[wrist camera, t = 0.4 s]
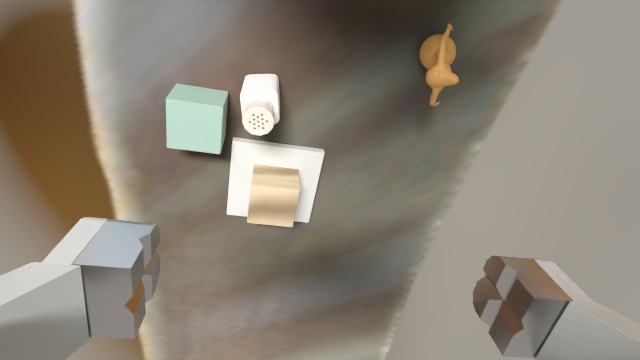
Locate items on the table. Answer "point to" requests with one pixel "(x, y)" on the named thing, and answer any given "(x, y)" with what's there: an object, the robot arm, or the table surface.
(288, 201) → the maple brick
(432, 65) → the figurine
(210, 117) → the sage brick
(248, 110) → the pepper shaker
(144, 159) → the table surface
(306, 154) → the plate
